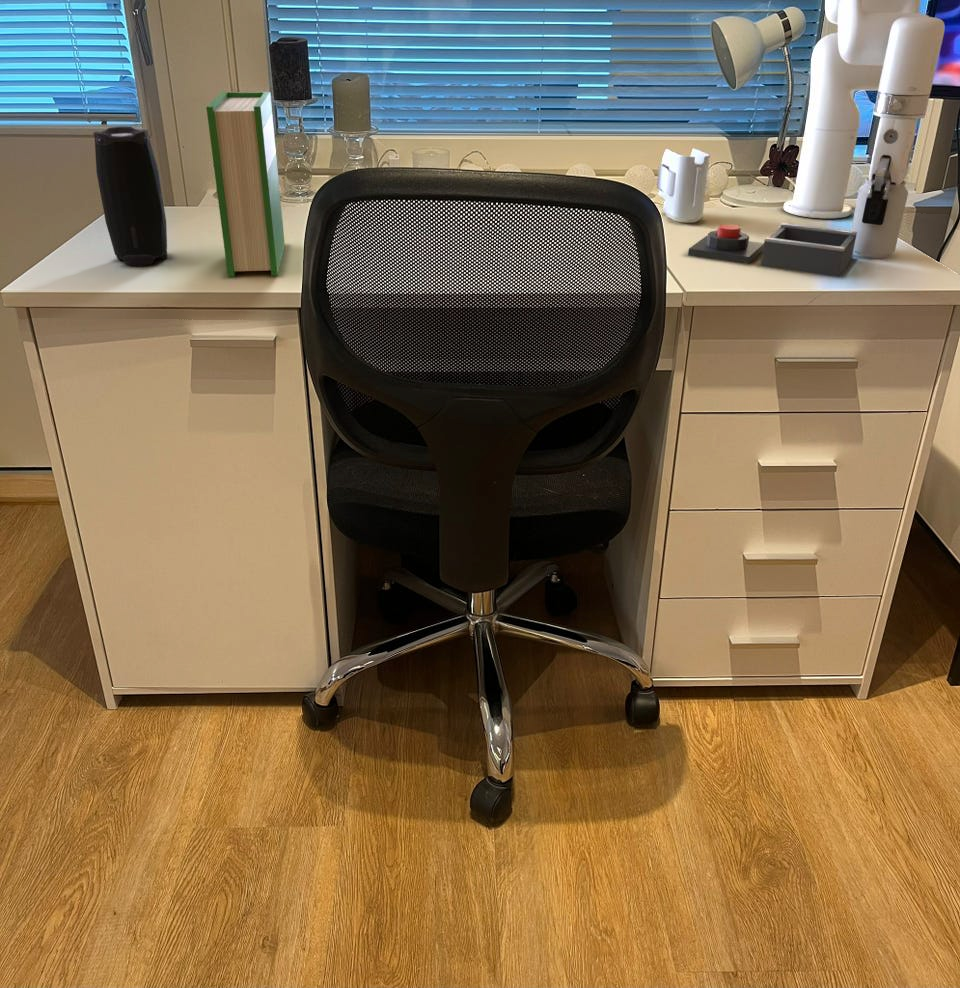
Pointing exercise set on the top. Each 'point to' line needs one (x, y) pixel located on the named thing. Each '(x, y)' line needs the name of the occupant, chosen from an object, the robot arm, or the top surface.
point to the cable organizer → (683, 184)
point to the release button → (729, 231)
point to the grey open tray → (809, 249)
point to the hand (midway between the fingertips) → (876, 217)
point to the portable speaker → (131, 195)
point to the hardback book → (247, 180)
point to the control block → (726, 248)
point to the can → (879, 237)
